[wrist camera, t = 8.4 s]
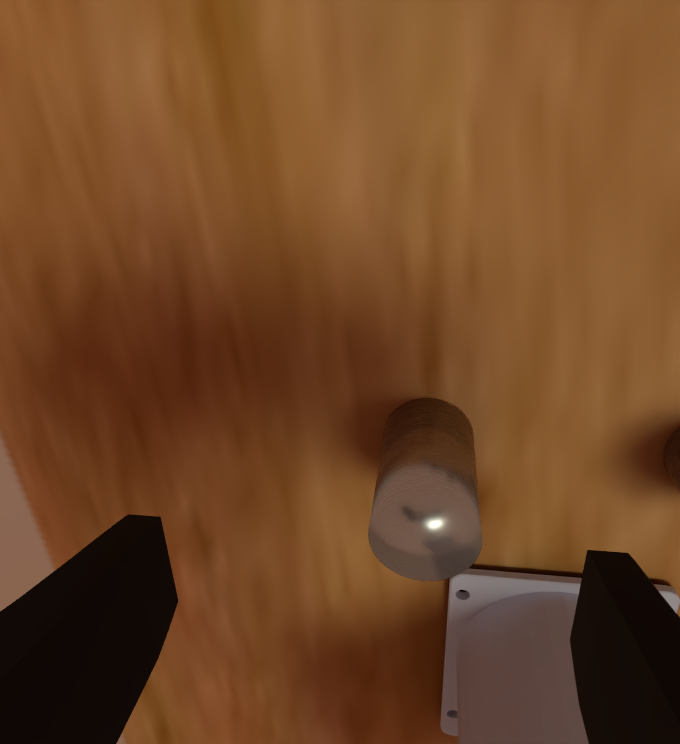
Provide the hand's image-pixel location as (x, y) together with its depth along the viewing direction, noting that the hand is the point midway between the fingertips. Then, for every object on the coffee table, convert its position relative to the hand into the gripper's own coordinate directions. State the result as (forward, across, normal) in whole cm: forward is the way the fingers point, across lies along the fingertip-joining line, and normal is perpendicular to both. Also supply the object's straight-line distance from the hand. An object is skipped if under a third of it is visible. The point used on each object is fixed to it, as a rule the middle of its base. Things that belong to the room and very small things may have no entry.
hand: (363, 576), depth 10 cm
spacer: (+10, -1, +4) cm, 11 cm away
